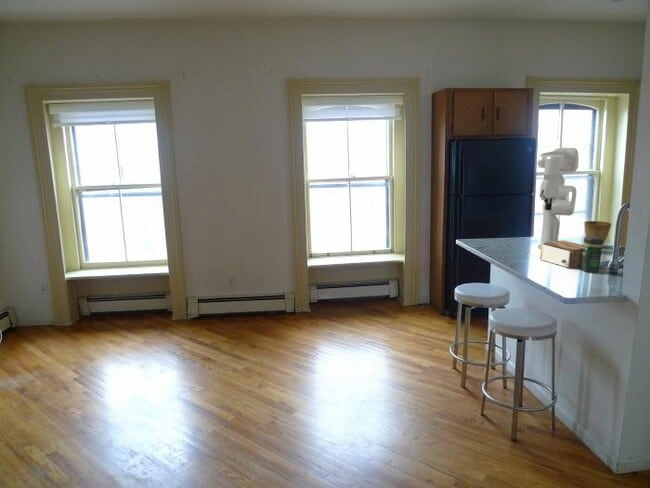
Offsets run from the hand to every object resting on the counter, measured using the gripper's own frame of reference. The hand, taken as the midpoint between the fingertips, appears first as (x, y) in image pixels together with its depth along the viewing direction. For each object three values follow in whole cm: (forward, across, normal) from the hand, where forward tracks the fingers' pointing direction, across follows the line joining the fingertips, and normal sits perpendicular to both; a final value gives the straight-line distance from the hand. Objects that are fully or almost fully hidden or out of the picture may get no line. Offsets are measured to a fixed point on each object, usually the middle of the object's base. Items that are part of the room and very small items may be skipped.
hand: (547, 209), depth 252 cm
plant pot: (+30, -54, -12) cm, 63 cm away
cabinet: (+28, -3, +14) cm, 32 cm away
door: (+28, +6, +13) cm, 31 cm away
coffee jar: (+29, -2, +30) cm, 42 cm away
